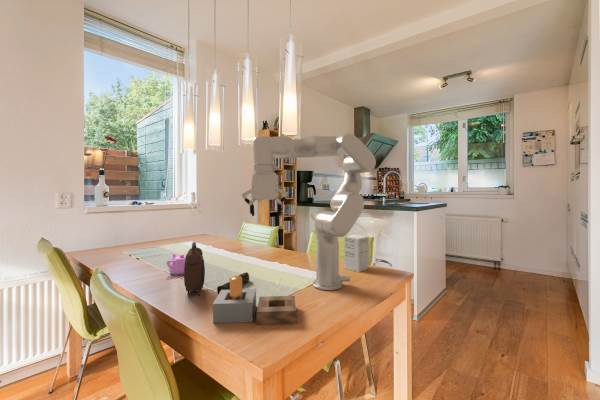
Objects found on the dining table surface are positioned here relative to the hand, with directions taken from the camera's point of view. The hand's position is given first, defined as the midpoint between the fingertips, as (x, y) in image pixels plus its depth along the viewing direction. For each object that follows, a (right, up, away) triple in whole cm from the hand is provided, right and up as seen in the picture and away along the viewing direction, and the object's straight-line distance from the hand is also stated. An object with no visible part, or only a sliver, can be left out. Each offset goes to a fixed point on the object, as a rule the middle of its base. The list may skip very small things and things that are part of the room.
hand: (266, 215), depth 106 cm
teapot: (-46, -30, +33) cm, 64 cm away
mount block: (+5, -32, -15) cm, 36 cm away
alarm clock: (-29, -31, +6) cm, 43 cm away
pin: (-8, -32, -14) cm, 36 cm away
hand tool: (-15, -31, +11) cm, 36 cm away
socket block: (-8, -32, -14) cm, 36 cm away
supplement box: (+42, -30, +39) cm, 64 cm away
